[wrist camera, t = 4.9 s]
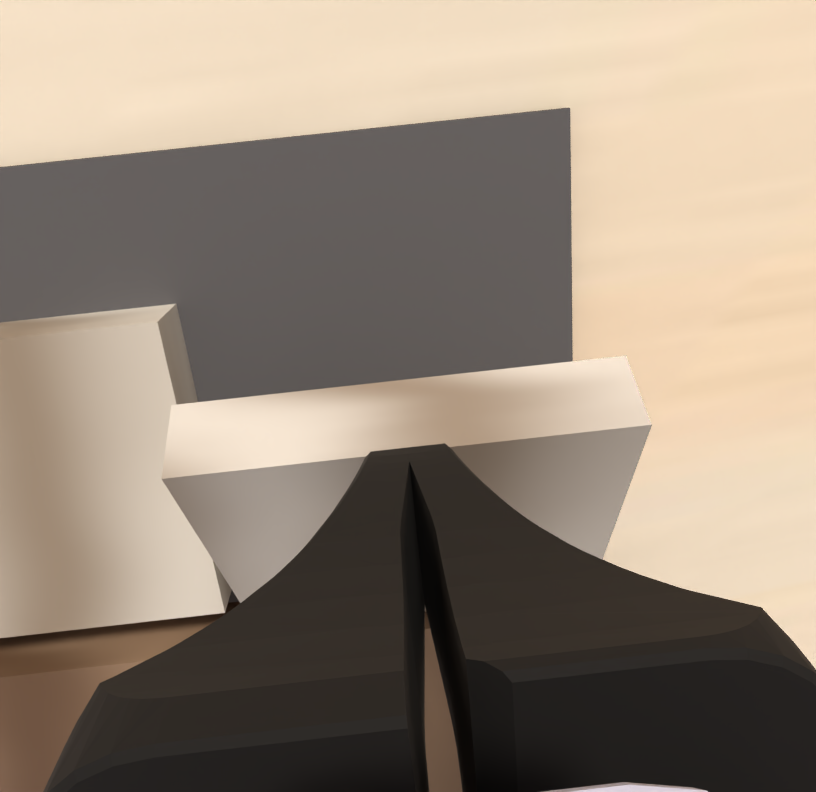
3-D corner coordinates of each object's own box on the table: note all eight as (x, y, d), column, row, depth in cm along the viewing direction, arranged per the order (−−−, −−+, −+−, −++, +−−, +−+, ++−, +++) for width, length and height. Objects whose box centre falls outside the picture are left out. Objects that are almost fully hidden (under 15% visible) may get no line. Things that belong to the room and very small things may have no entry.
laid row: (20, 818, 21) (-11, 882, 20) (-59, 634, 19) (-103, 688, 17) (573, 754, 22) (592, 812, 20) (571, 563, 19) (592, 610, 17)
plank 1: (-84, 610, 18) (-122, 651, 17) (-197, 343, 15) (-252, 366, 14) (236, 574, 18) (225, 612, 17) (176, 303, 15) (157, 322, 14)
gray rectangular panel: (-62, 628, 19) (-69, 636, 18) (-250, 193, 14) (-262, 195, 14) (571, 556, 19) (574, 564, 19) (566, 107, 15) (569, 107, 14)
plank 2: (260, 572, 18) (257, 630, 17) (171, 405, 12) (161, 478, 12) (574, 536, 18) (589, 593, 17) (625, 355, 13) (651, 424, 12)
